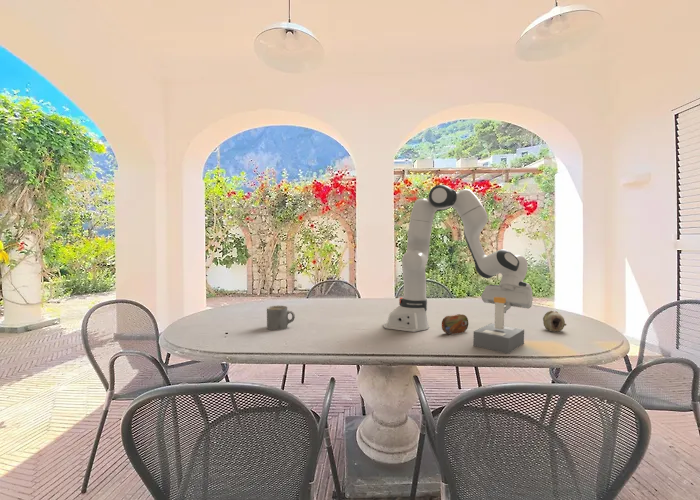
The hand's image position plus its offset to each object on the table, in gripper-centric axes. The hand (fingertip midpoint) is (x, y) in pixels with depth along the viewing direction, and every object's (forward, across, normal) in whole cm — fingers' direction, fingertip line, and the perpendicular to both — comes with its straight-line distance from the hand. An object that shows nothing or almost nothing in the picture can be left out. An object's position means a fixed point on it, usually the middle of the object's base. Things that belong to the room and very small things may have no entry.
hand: (501, 312), depth 143 cm
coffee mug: (+46, -87, -26) cm, 102 cm away
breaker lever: (+6, 0, +3) cm, 7 cm away
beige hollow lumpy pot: (-18, +11, +37) cm, 43 cm away
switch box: (+11, 0, +8) cm, 13 cm away
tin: (+9, -22, +11) cm, 26 cm away
